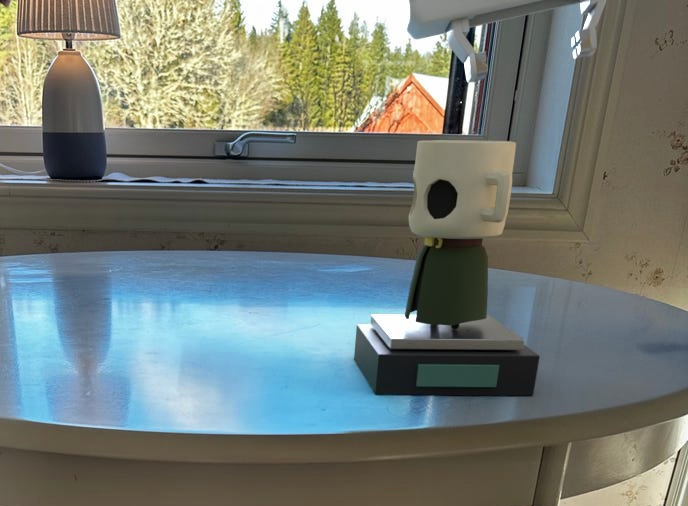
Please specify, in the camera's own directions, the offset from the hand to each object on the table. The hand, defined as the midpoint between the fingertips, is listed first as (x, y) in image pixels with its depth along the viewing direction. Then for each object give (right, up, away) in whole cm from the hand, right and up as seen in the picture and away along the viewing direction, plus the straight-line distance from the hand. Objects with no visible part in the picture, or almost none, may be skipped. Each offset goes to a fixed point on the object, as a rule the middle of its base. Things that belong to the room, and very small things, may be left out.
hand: (531, 67), depth 83 cm
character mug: (-10, -25, -8) cm, 28 cm away
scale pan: (-10, -26, -7) cm, 29 cm away
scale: (-10, -29, -6) cm, 31 cm away
